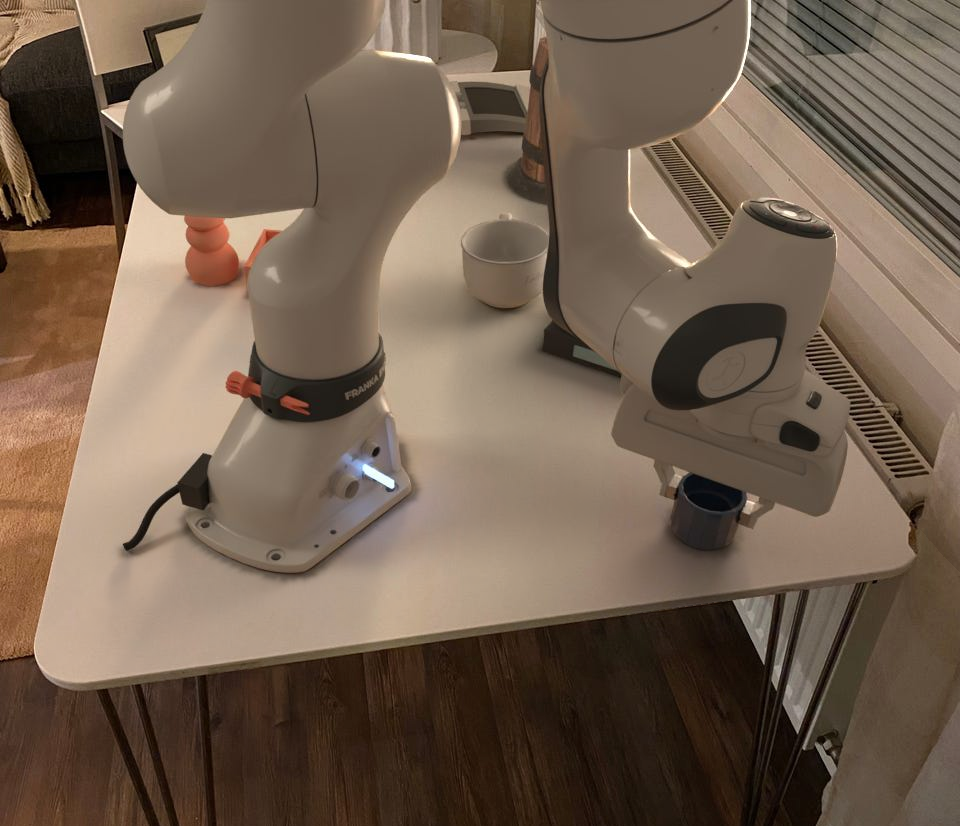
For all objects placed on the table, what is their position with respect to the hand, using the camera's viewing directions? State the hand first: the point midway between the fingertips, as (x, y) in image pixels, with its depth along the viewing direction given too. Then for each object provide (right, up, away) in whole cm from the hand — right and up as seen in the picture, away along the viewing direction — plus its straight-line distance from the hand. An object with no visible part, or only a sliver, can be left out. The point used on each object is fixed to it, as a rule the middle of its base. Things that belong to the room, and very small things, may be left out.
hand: (708, 508), depth 90 cm
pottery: (-49, +29, +33) cm, 66 cm away
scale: (-5, +20, +25) cm, 32 cm away
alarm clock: (-19, +65, +73) cm, 100 cm away
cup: (0, -2, +2) cm, 3 cm away
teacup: (-18, +27, +33) cm, 46 cm away
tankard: (-8, +46, +54) cm, 72 cm away
